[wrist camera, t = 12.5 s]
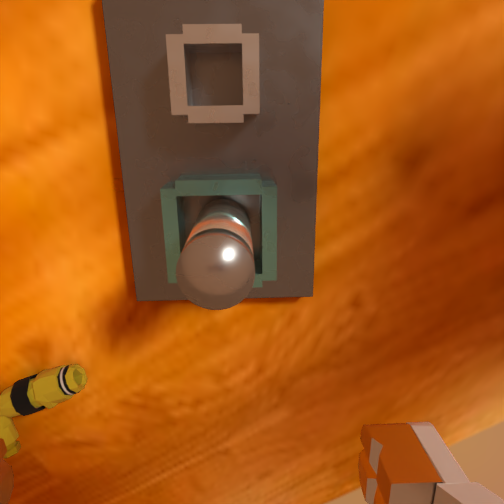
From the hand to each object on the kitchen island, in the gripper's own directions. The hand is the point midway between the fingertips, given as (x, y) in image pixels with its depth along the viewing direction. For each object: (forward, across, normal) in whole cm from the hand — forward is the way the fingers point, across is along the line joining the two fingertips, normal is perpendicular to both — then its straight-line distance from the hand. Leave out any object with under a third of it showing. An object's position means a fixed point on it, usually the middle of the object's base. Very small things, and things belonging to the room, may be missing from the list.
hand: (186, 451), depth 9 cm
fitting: (+21, 0, 0) cm, 21 cm away
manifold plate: (+23, 0, -5) cm, 23 cm away
